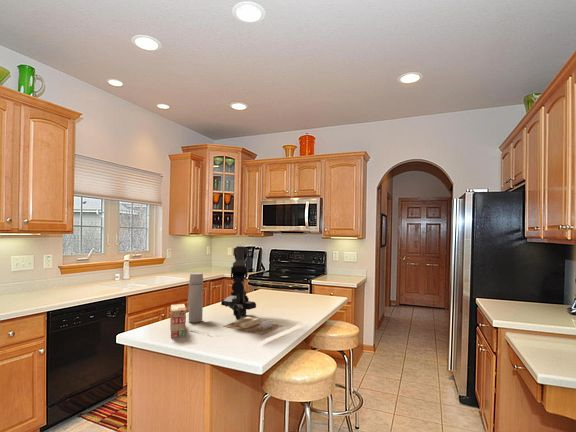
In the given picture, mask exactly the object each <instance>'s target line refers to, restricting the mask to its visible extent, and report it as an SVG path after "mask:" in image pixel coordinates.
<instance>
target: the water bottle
mask: <svg viewBox="0 0 576 432" xmlns="http://www.w3.org/2000/svg"><path fill="white" fill-rule="evenodd" d="M187 284H188V294H187V295H188V296H187V305H186V306H187V307H186V312H188V322H189V323H194V324H197V323H201V322H202V321H203V311H204V310H203V309H204V308H203V306H204V305H203V303H204V301H203V300H204V274H203V273H202V272H191V273H190V274H189V282H187Z"/></svg>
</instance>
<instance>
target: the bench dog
mask: <svg viewBox="0 0 576 432" xmlns="http://www.w3.org/2000/svg"><path fill="white" fill-rule="evenodd" d="M272 324H273V319H267V320H264V321H261V330H262V331H264V330H267V329H269V328H272Z"/></svg>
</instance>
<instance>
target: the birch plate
mask: <svg viewBox="0 0 576 432" xmlns="http://www.w3.org/2000/svg"><path fill="white" fill-rule="evenodd" d="M259 321H260V319H259V318H257V317H253V316H252V317H251V316H244V317H241V318H240V319H239V320H234V322H235V326H237V327H242V328H248V327H251V326H254V325H256V324H259Z"/></svg>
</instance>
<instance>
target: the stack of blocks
mask: <svg viewBox="0 0 576 432" xmlns="http://www.w3.org/2000/svg"><path fill="white" fill-rule="evenodd" d="M169 311H170V318H169V319H170V321H169V322H170V338H171V339H172V338H181V337H183V338H185V337H186V323H187V322H186V320H187V307H186V306H185V304H184V303H180V304H179V303H177V304H171V305H170V309H169Z"/></svg>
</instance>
